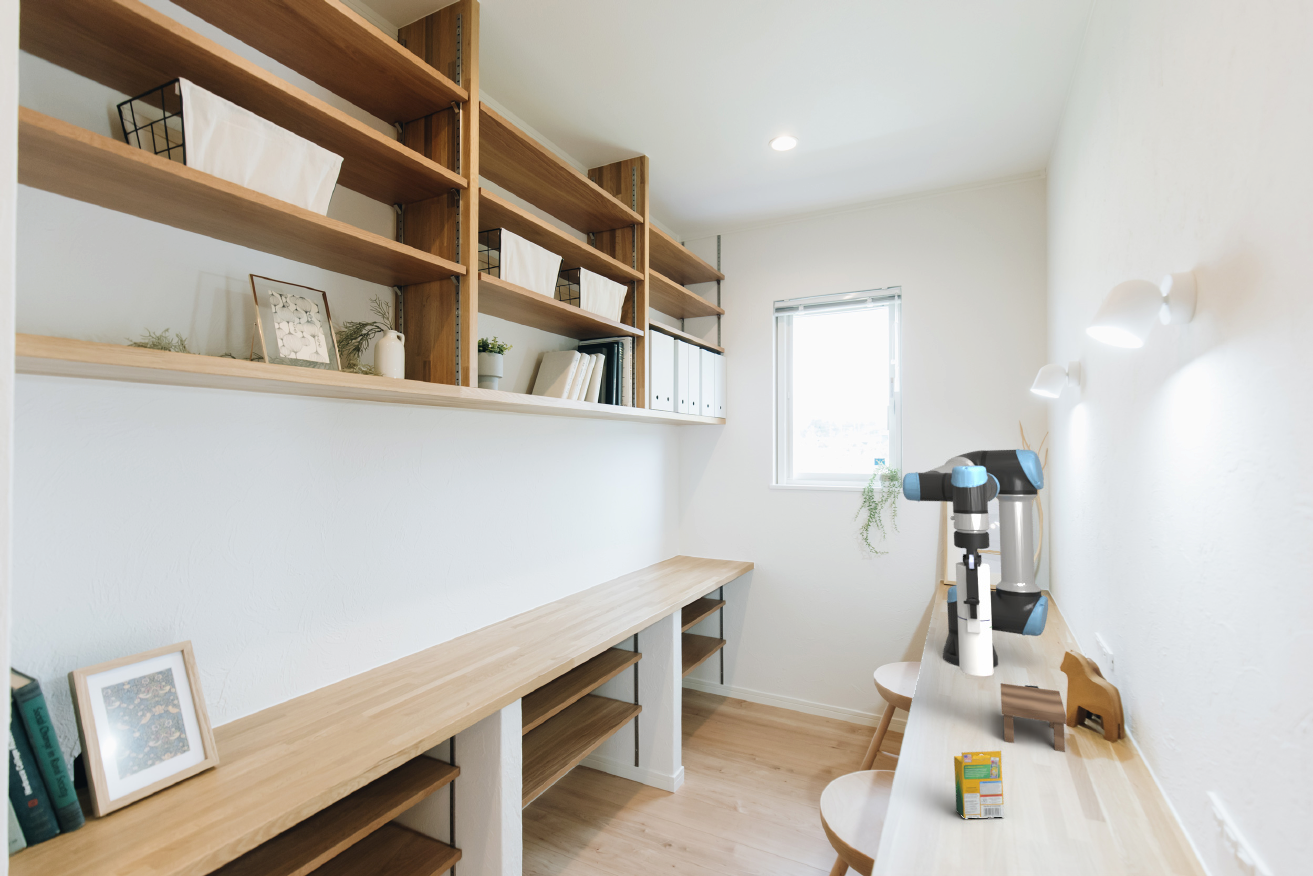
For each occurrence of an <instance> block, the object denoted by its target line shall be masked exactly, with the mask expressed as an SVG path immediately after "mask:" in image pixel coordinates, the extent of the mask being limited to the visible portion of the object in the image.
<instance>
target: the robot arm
mask: <svg viewBox="0 0 1313 876" xmlns="http://www.w3.org/2000/svg"><path fill="white" fill-rule="evenodd" d="M1044 479H1045V478H1044V473H1043V467H1042V464H1041V461H1040V457H1039V456H1038V454H1037V452H1035V451H1034V450H1031V449H1020V448H1017V449H994V450H993V449H991V450H990V449H989V450H985V449H984V450H975V451H970V452H969V451H968V452H966V453H963V454H960V455H955V456H954V457H951V458H950V459H947V460H946V462H945V463H944V464H943V465H940V466H938V467H934V468H933V469H930V470H928V471H925V472H918V471H916V472H907V473H905V475H904V476H903V479H902V493H903V497H904V498H905V499H906V500H907V501H914V502H915V501H916V502H918V503H919V502H945V503H946V502H949V503H952V512H953V513H952V514H953V515H952V516H951V515H950V521H953V529H954V530H955V531H954V532H953V544H954V546H955V548H958V549H964V550H965V553H963V554H962V562H963V563H964V566H966V588H967V599H966V601H964V604H967V624H968V632H974V633H981V620H980V604H979V603H980V600H979V585H978V567H980V565H981V563H983V562H982V559H983V558H982V554H980V553H979V551H978V550H984V549H988V548H990V533H989V532H988V530H989V529H990V520H989V518H990V517H989V510H988V509H989V507H988V506H989V502H991V501H993V500H995V498H996V499H997V501H998V516H999V517H998V519H999V520H998V522H999V524H998V525H999V547H1000V549H999V551H1000V573H1001V574H1000V576H1001V577H1000V578H1001V580H1000V581H999V582H998V583H997V584H995V590H991V589H990V595H991V620H992V631H995V632H996V631H998V632H1002V633H1003V632H1004V633H1011V634H1016V635H1022V636H1032V637H1033V636H1034V637H1038V636H1041V635H1042V634H1043V632H1044V630H1045V629H1046V628H1045V627H1046V623H1047V618H1048V610H1049V599H1048V596H1046V595H1042V589H1041V587H1039V585H1037V584H1036V579H1035V558H1034V557H1035V555H1034V551H1035V550H1034V549H1035V548H1034V529H1033V527H1034V524H1033V501H1034V500H1035V498H1037V497H1038V495H1039V493H1038V491H1039V490H1042V489H1043V488H1044V486H1045V485H1044V484H1045V483H1044ZM970 597H973V598H970ZM946 599H947V600H946V605H947V621H948V622H947V626H948V630H947V632H948V634H947V637H946V641H945V642H944V643H945V644H944V647H943V650H942V657H943V660H944V661H945V662H948V663H949V664H951V665H954V666H958V667H960V665H959V638H958V611H957V584H955V585H952V586H950V587H949V588H948V589H947V598H946ZM992 647H993V668H995V667H997V666H998V665H999V655H998V653H997V651H996V648H995V645H994V643H993V642H992Z"/></svg>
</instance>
